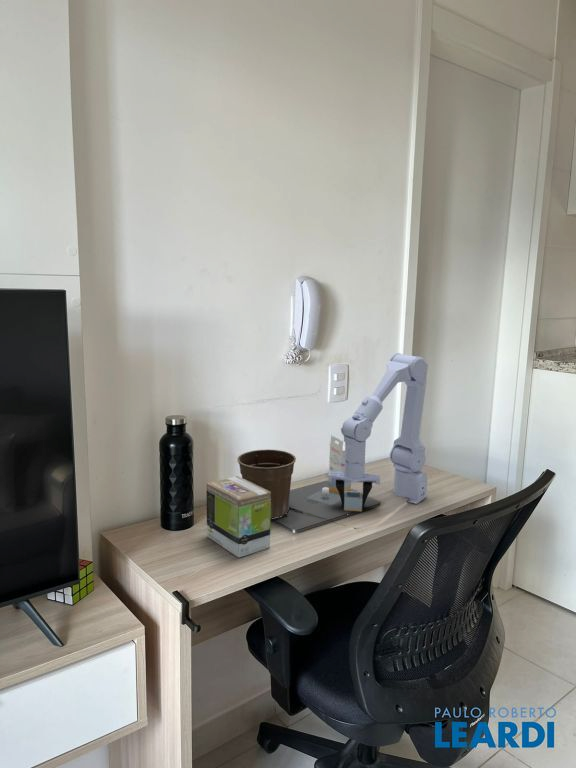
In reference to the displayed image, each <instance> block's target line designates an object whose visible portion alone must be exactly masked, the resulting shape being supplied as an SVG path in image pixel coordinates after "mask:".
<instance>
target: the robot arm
mask: <svg viewBox="0 0 576 768" xmlns="http://www.w3.org/2000/svg"><path fill="white" fill-rule="evenodd" d="M428 369H429V364H428V362H427V361H426V360H425V358H424V357H422V356H415V355H410V354H405V353H403V354H402V353H399V352H397V353H394V354H393V355H392V356H391V357H390V359H389V360H388V361H387V363H386V371H385V373H384V375H383V376H382V378H381V380H380V382H379V383H378V385H377V387H376V388H375V389H374V391H373V392H372V393H373V394H372V395H371V396H370V395H369V396H366V397H365V398H363V400H362V401H361V403H360V405H359V407H357V410H356V411H355V412H354V413H353V415H352V416H351V417H349V418H347V419H345V420H344V422H343V423H342V427H341V428H340V432H341V434H342V436H343V442H344V444H345V463H344V472H341V473H329V472H328V476H327V477H328V478H327V480H328V481H329V482H332V481H336V488H337V490H338V492H339V495H340V498H341V500H340V502H341V507H343V508H344V482H351V483H362V509H364V508H365V505H366V502H367V498H368V496H369V494H370V493H371V491H372V489H373V484H375V485H380V484H381V476H380V475H376V474H370V473H365V469H366V446H367V445H366V442H367V439H369V437H371V434H372V428H373V424H374V422H375V420H376V419H377V418H378V417H379V415H380V414H381V412H382V410H383V408H384V407H383V402H384V401H385V399H386V398H387V397H388V396H389V395H390V394H391V392H392V391H393V389H394V388H395V387H396V386H397V384H398V383H402V382H404V384H405V385H406V393H405V400H404V405H403V406H404V408H403V415H402V421H401V430H400V436H399V437H398V438H396V439H395V440H394V441H393V446H392V447H391V450H390V452H389V458H390V461H391V463H393V466H392V467H393V468H394V478H393V479H394V481H393V494H394V495H396V496H397V497H402V498H408V499H407V500H406V502H407V503H411V504H415V505H418V504H419V503H420V502H421V501H423V500H424V499H426V498H427V497H428V495H427V488H428V485H427V484H428V475H427V473H426V472H424V471H422V470H423V467H424V466H425V463H426V453H425V452H426V451H425V450H426V446H425V445H424V444H423V443H422V441H421V440H420V439H419V438H420V432H421V425H422V418H423V409H424V404H425V394H426V390H427V389H426V388H427V374H428ZM328 481H327V482H328Z"/></svg>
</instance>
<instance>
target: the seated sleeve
mask: <svg viewBox="0 0 576 768" xmlns="http://www.w3.org/2000/svg"><path fill="white" fill-rule="evenodd" d="M334 473H341V472H339V471H336V472H334ZM327 482H328V486H327V487H328V488H329V491H331V492H335V493H338V494H339V492H338V490H337V488H336V481H332V482H329V481H327ZM351 485H352V482H344V493H345V491H349V490H351V489H352V488H351V487H352V486H351Z"/></svg>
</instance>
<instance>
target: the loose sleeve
mask: <svg viewBox="0 0 576 768" xmlns="http://www.w3.org/2000/svg"><path fill="white" fill-rule="evenodd" d="M362 495H363V491H356V492H353V491H345V497H344V507H343V511H346V512H347V511H348V512H349V511H350V512H362V511H363V508H362Z"/></svg>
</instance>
